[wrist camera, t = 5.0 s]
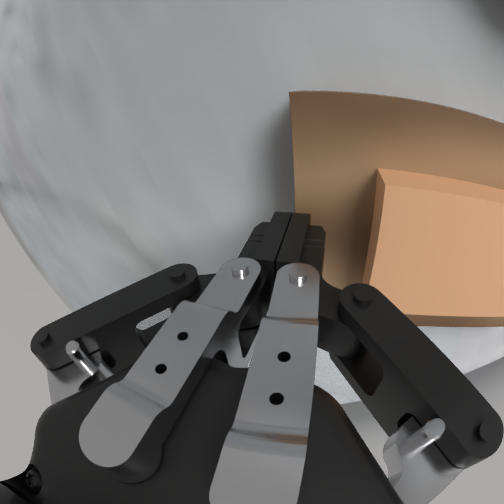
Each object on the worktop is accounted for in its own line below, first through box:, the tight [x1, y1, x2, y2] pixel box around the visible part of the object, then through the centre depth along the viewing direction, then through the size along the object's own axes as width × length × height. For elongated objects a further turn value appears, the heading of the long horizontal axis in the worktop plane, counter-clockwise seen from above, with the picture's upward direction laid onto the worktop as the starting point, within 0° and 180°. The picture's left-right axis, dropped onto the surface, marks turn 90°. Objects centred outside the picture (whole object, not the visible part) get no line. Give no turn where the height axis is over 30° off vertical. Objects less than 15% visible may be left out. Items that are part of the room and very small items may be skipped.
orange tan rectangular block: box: [362, 168, 504, 317], centre depth 9 cm, size 6×9×2 cm, turn 95°
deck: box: [289, 91, 504, 327], centre depth 11 cm, size 12×20×4 cm, turn 96°
